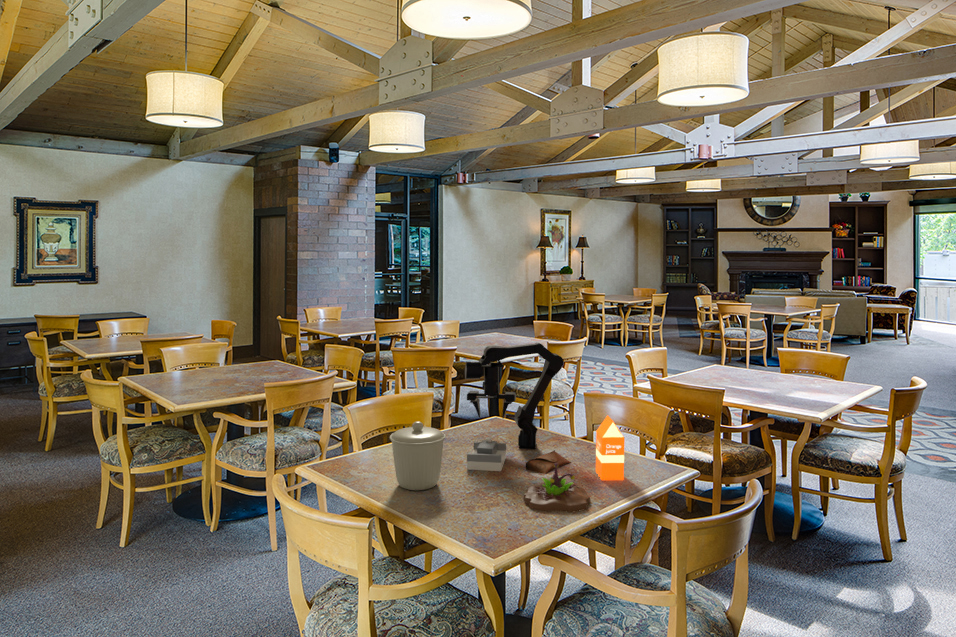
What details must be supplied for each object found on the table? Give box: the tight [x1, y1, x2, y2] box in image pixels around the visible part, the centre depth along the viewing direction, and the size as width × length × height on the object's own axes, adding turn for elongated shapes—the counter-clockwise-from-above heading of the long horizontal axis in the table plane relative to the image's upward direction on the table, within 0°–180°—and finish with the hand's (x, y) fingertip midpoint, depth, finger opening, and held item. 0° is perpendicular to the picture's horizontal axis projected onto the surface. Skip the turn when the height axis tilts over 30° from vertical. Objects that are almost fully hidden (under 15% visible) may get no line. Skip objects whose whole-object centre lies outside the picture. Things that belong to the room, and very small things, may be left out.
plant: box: [523, 463, 591, 513], centre depth 193 cm, size 20×20×11 cm
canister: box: [389, 420, 447, 491], centre depth 204 cm, size 18×18×21 cm
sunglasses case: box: [525, 449, 572, 475], centre depth 225 cm, size 18×7×7 cm, turn 141°
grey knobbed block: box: [477, 437, 498, 454], centre depth 227 cm, size 10×6×5 cm, turn 169°
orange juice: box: [595, 415, 625, 481], centre depth 213 cm, size 8×9×20 cm
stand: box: [466, 441, 507, 472], centre depth 228 cm, size 12×16×6 cm
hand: (491, 418), depth 246 cm, fingers open, 9 cm apart
